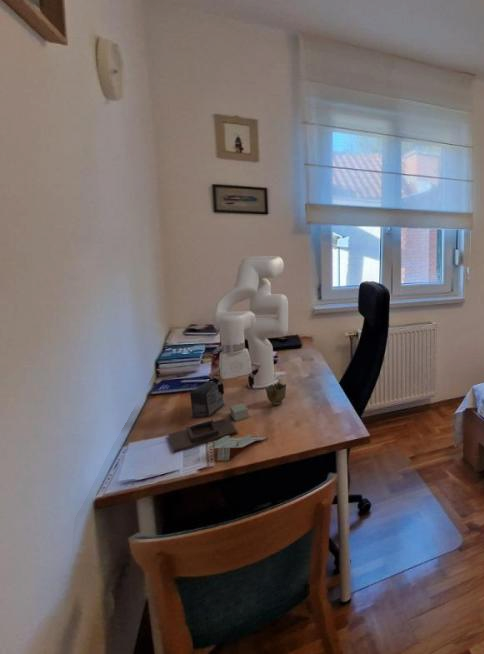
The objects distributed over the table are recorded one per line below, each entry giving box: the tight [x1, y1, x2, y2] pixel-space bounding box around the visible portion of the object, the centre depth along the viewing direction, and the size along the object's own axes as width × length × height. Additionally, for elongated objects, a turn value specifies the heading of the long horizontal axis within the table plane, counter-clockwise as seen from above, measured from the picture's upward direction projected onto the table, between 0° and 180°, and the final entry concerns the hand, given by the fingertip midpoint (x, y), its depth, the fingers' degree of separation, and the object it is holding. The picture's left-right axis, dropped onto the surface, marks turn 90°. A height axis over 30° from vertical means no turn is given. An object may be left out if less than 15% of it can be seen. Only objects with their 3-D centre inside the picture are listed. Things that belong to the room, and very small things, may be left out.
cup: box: [265, 382, 287, 407], centre depth 172 cm, size 8×7×8 cm
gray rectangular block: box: [229, 402, 249, 422], centre depth 162 cm, size 4×7×4 cm, turn 44°
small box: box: [189, 381, 225, 418], centre depth 165 cm, size 11×6×10 cm, turn 5°
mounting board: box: [168, 417, 238, 454], centre depth 147 cm, size 18×14×2 cm
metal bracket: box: [205, 434, 267, 462], centre depth 139 cm, size 14×6×15 cm
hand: (236, 390), depth 160 cm, fingers open, 9 cm apart
